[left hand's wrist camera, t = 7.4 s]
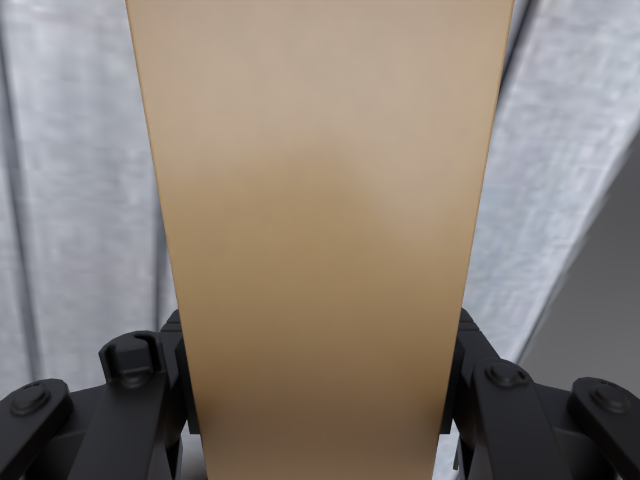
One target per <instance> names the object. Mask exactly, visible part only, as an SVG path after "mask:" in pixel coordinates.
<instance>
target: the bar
mask: <svg viewBox="0 0 640 480" xmlns="http://www.w3.org/2000/svg"><path fill="white" fill-rule="evenodd" d="M125 2H126V8H127V14H128V19H129V25H130V31H131V37H132V43H133V48H134V54H135V60H136V66H137V72H138V77H139V83H140V89H141V95H142V100H143V106H144V112H145V118H146V124H147V129H148V135H149V141H150V147H151V153H152V158H153V164H154V170H155V176H156V181H157V187H158V193H159V199H160V205H161V210H162V216H163V222H164V228H165V234H166V239H167V245H168V251H169V257H170V262H171V268H172V274H173V280H174V286H175V291H176V297H177V303H178V309H179V315H180V320H181V326H182V332H183V338H184V343H185V349H186V355H187V361H188V367H189V372H190V378H191V384H192V390H193V396H194V401H195V407H196V413H197V419H198V425H199V430H200V436H201V442H202V448H203V453H204V459H205V465H206V471H207V477H208V480H432V475H433V469H434V463H435V458H436V452H437V446H438V440H439V435H440V429H441V423H442V417H443V411H444V406H445V400H446V394H447V388H448V382H449V377H450V371H451V365H452V359H453V353H454V348H455V342H456V336H457V330H458V324H459V319H460V313H461V307H462V301H463V295H464V290H465V284H466V278H467V272H468V266H469V261H470V255H471V249H472V243H473V237H474V232H475V226H476V220H477V214H478V208H479V203H480V197H481V191H482V185H483V180H484V174H485V168H486V162H487V156H488V151H489V145H490V139H491V133H492V127H493V122H494V116H495V110H496V104H497V98H498V93H499V87H500V81H501V75H502V69H503V64H504V58H505V52H506V46H507V40H508V35H509V29H510V23H511V17H512V11H513V6H514V0H125Z"/></svg>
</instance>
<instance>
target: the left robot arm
mask: <svg viewBox="0 0 640 480" xmlns="http://www.w3.org/2000/svg"><path fill="white" fill-rule="evenodd" d="M98 354H99V357H100V361H101V364H102V368H103V371H104V375H105V378H106V384H105V385H101V386H98V387H94V388H89V389H85V390H80V391H76V392H72V393H70V392H69V389H68V386H67V384H66V383H65V382H64V381H62V380H59V379H45V380H39V381H36V382H33V383H30V384H28V385H25V386H23V387H21V388H19V389H17V390H16V391H14V392H12V393H11V394H9V395H8V396H7V397H5V398H4V399H3V400H1V401H0V480H180V472H181V463H182V453H183V445H182V439H181V432H182V430H183V427H184V425H185V423H186V420H187V421H188V426H189V432H190V434H200V430H199V425H198V419H197V413H196V407H195V401H194V396H193V390H192V384H191V378H190V372H189V367H188V361H187V355H186V349H185V343H184V338H183V332H182V326H181V320H180V315H179V309H177V310H176V311H174V312H173V313H172V315H171V316H170V318H169V319H168V320H167V323H166V324H165V325H164V326H163V327H162V329H161V332H159V333H158V334H157V333H156V332H152V331H148V330H147V331H134V332H130V333H126V334H123V335H121V336H119V337H117V338H114V339H113V340H111V341H110V342H108V343H107V344H106V345H104V346H103V348H102V349H101V350H100V351H99V353H98ZM453 419H454V422H455V424H456V426H457V429H458V431H459V433H460V434H459V439H458V444H457V449H456V454H455V459H454V465H453V469H454V470H458V466H459V472H460V480H621V478H622V480H640V399H638V398H637V397H636V396H634V395H633V394H632V393H630V392H629V391H628V390H626V389H624V388H622V387H620V386H618V385H616V384H614V383H611V382H608V381H606V380H603V379H598V378H591V377H585V378H578V379H577V380H576V381H575V382H574V383H573V385H572V388H571V391H566V390H562V389H557V388H553V387H548V386H544V385H540V384H537V383H534V381H533V380H532V378H531V377H530V375H529V374H528V373H527V372H526V371H525V370H523V369H522V368H521V367H520V366H518V365H516V364H514V363H512V362H510V361H508V360H504V359H501V358H500V357H499V356H498V354H497V353H496V351H495V350H494V349H493V347H492V346H491V344H490V343H489V342H488V340H487V339H486V337H485V336H484V335H483V333H482V332H481V331H479V328H478V326H477V325H476V323H474V322H473V319H472V318H471V316H470V315H469V314H468V312H467V311H466V310H465V309H463V308H462V307H461V313H460V319H459V324H458V330H457V336H456V342H455V348H454V353H453V359H452V365H451V371H450V377H449V382H448V388H447V394H446V400H445V406H444V411H443V417H442V423H441V429H440V434H450V430H451V425H452V420H453Z"/></svg>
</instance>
